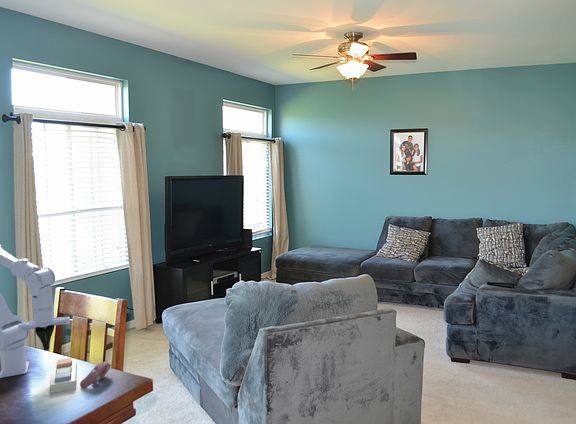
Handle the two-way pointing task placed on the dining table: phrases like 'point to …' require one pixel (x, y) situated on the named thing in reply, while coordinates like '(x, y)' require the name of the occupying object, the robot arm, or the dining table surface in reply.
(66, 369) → the sage key
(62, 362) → the terracotta key
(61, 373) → the slate key
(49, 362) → the dining table surface
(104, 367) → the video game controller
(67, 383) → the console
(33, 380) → the dining table surface
